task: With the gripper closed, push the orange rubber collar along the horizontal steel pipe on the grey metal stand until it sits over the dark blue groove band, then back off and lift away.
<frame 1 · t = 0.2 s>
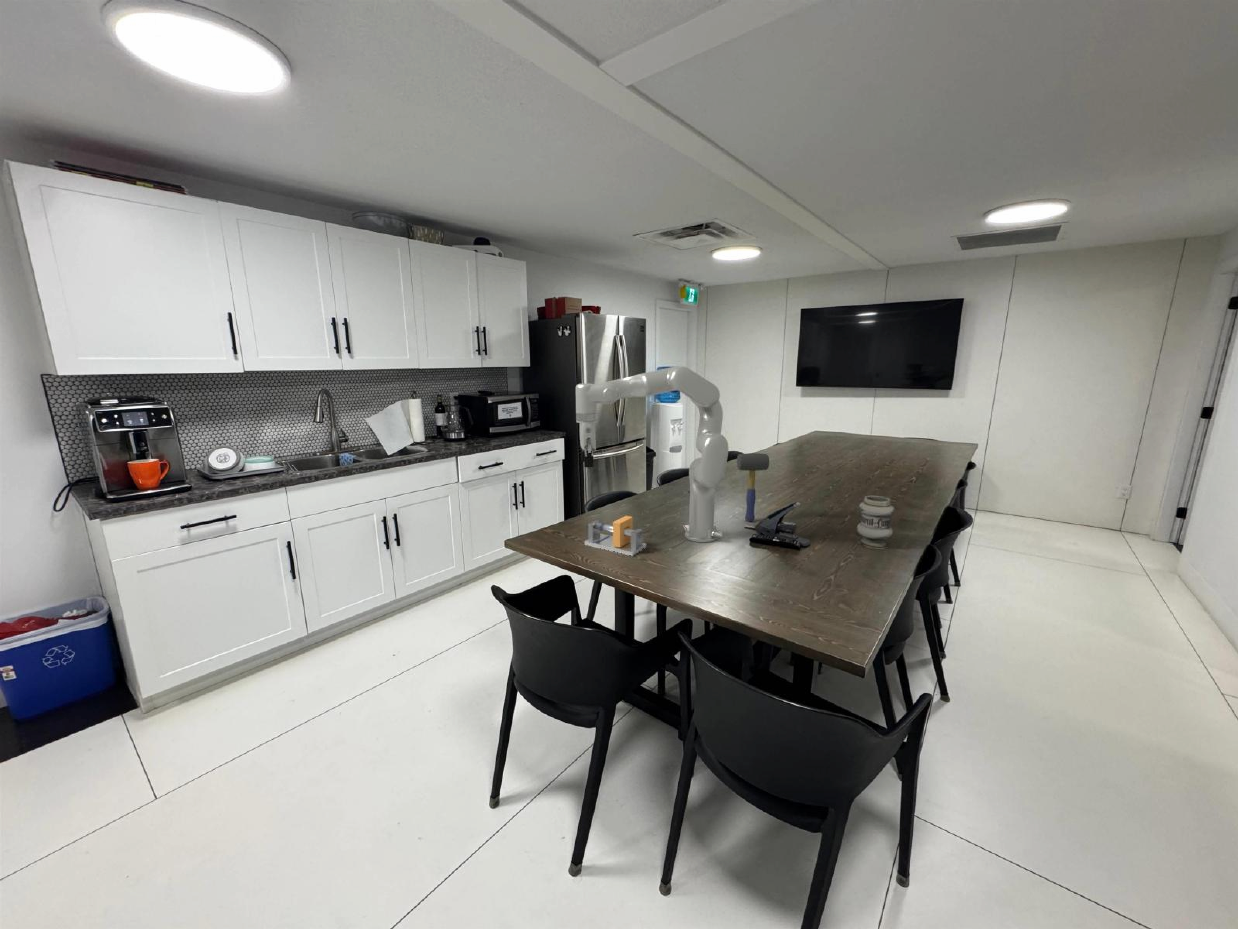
hand: (587, 464, 176), 31 cm above the table, tool pointing down, fingers open, 9 cm apart
apothecary jar: (872, 544, 180), on the table
collar: (623, 531, 176), point 6 cm above the table, slide at 0.0 cm
pipe stand: (615, 546, 180), on the table
rubber mallet: (749, 521, 208), on the table
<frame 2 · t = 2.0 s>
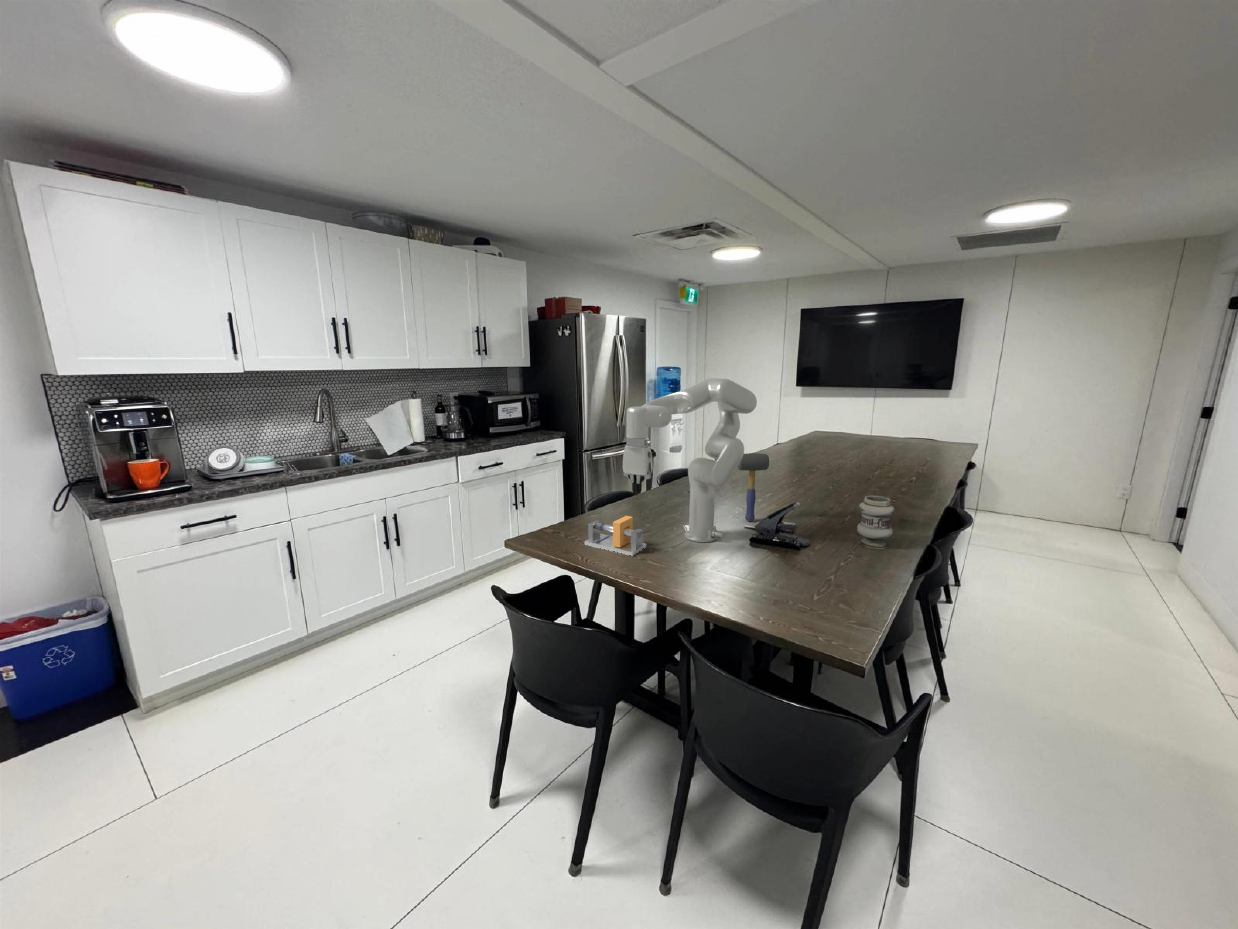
hand: (636, 493, 170), 22 cm above the table, tool pointing down, fingers closed
nothing on the table moved.
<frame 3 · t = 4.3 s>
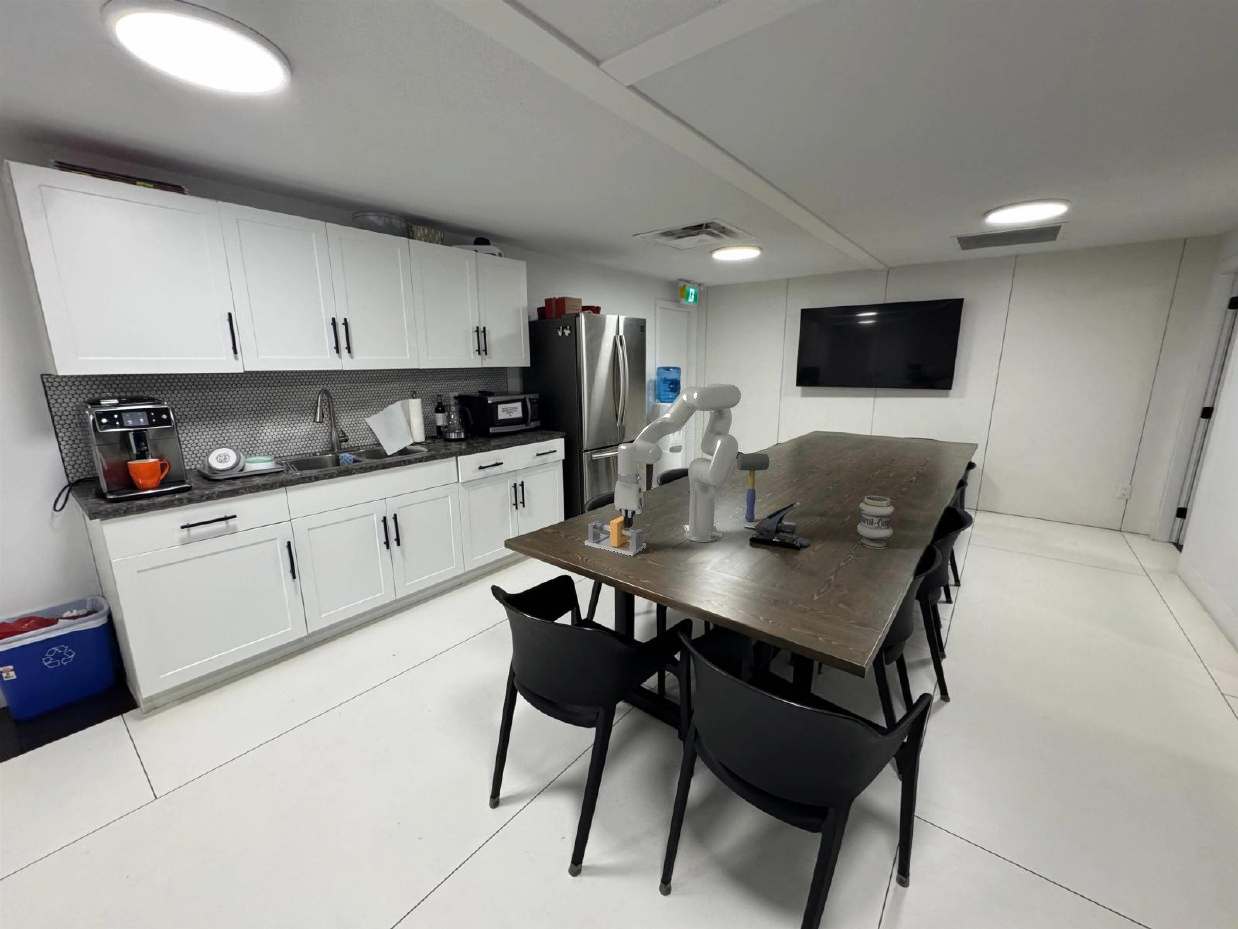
hand: (628, 527, 175), 9 cm above the table, tool pointing down, fingers closed
collar: (620, 530, 177), point 6 cm above the table, slide at 1.2 cm, touching gripper
everything else where it was.
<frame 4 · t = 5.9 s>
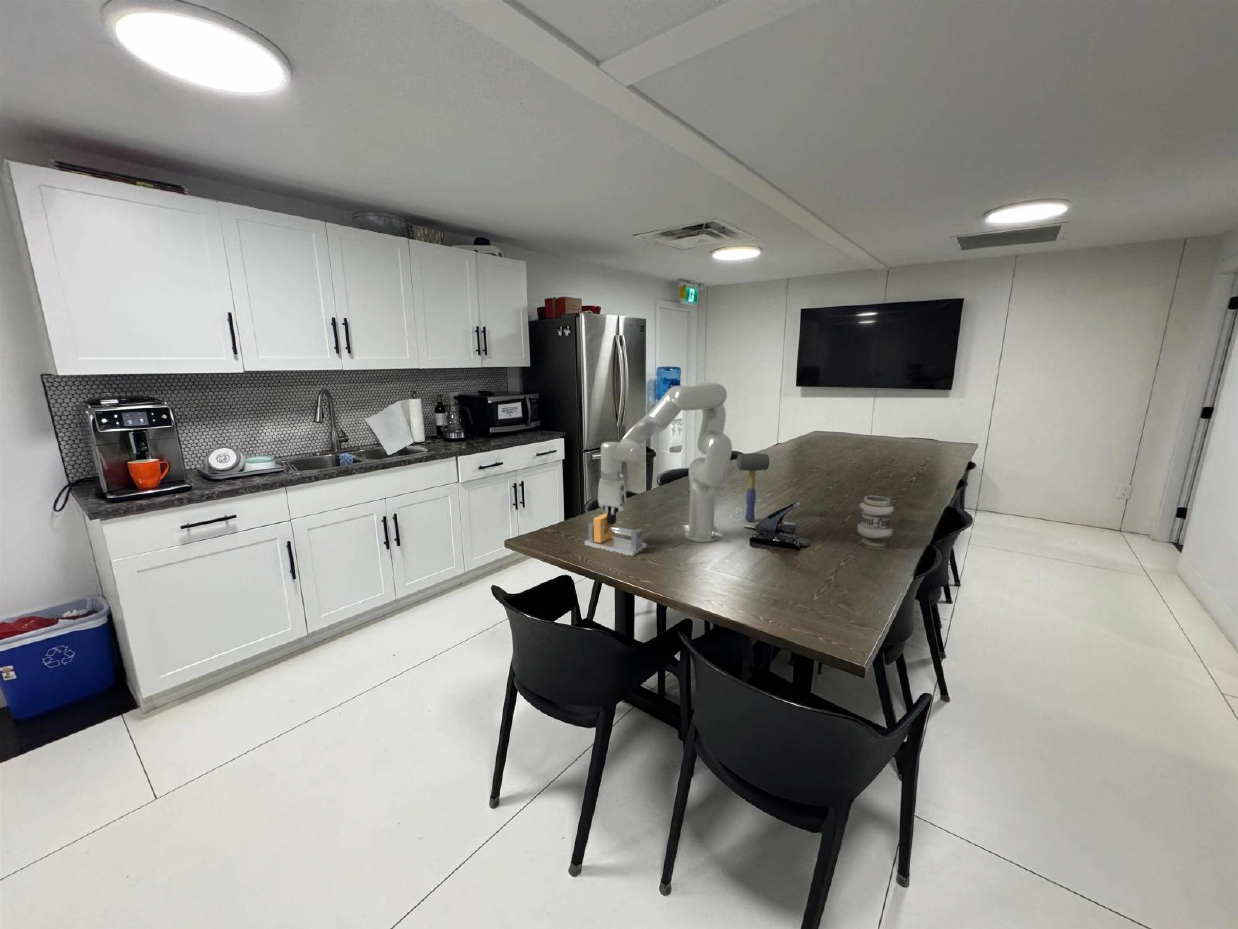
hand: (611, 523, 179), 9 cm above the table, tool pointing down, fingers closed
collar: (603, 527, 181), point 6 cm above the table, slide at 8.5 cm, touching gripper
everything else where it was.
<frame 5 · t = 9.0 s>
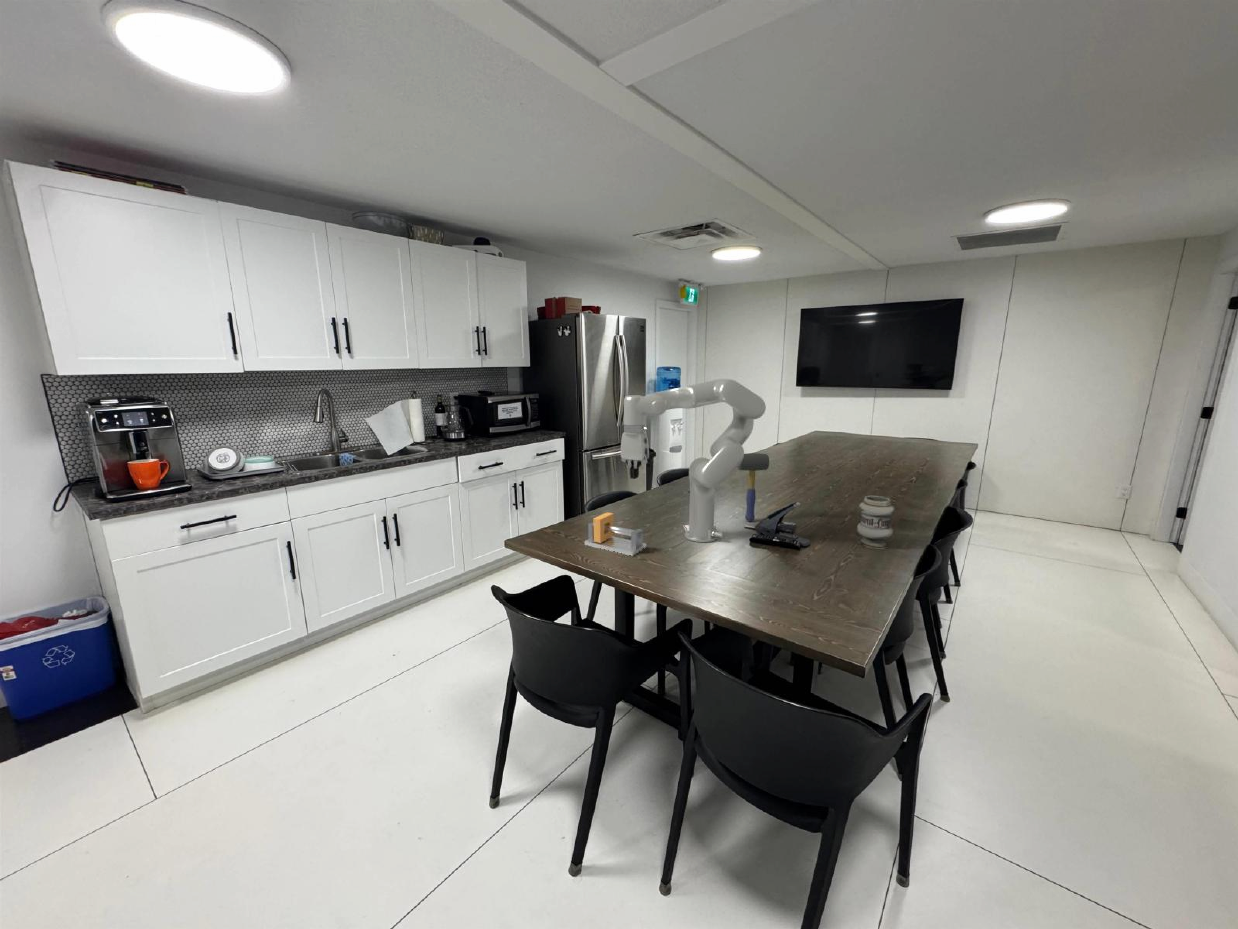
hand: (634, 477, 179), 25 cm above the table, tool pointing down, fingers closed
collar: (603, 527, 181), point 6 cm above the table, slide at 8.6 cm
everything else where it was.
at the end: collar slide at 8.6 cm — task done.
